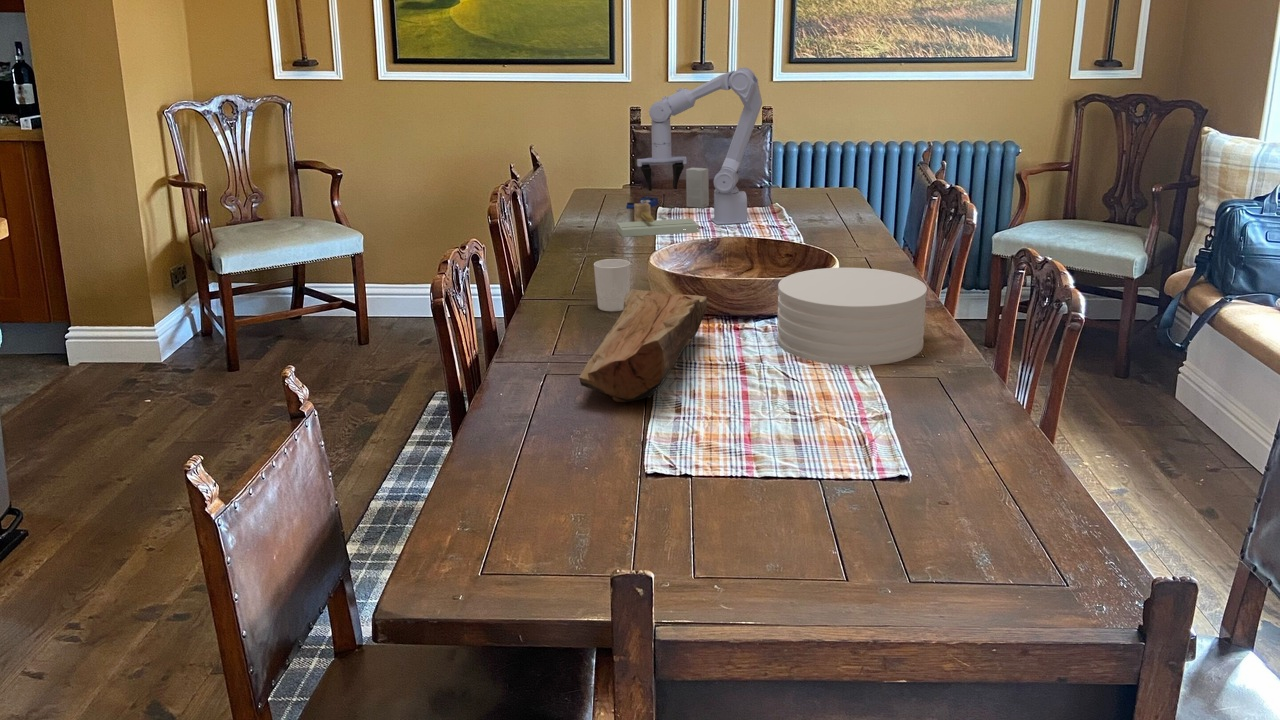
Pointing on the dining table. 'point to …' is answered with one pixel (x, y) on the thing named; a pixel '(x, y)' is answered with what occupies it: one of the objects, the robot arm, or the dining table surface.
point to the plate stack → (851, 316)
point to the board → (657, 227)
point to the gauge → (642, 212)
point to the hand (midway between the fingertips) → (662, 189)
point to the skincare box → (697, 187)
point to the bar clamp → (649, 200)
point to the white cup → (612, 283)
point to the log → (643, 344)
